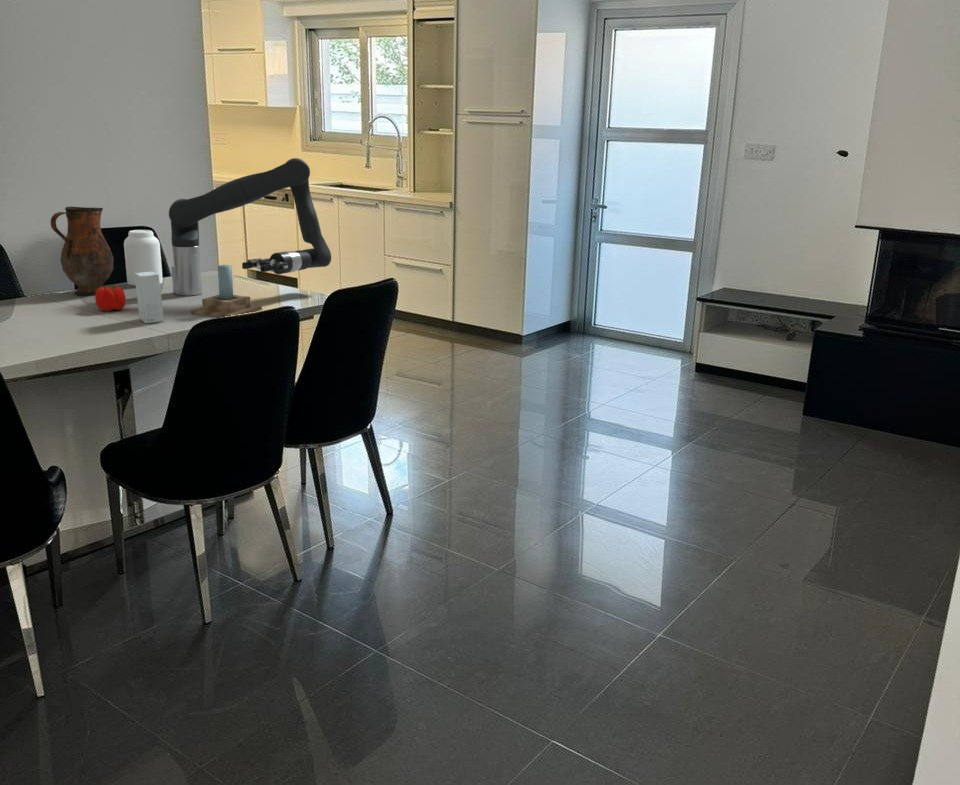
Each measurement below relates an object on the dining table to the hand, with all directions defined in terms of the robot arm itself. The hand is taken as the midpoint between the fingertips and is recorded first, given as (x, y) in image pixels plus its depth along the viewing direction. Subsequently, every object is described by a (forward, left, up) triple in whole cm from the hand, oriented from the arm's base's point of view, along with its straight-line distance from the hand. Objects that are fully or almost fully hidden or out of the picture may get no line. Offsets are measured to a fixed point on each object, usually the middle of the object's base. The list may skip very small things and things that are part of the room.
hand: (251, 267), depth 289 cm
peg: (-2, -12, -12) cm, 17 cm away
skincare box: (-14, -34, -13) cm, 39 cm away
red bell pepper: (-35, -28, -13) cm, 47 cm away
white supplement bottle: (-58, +13, -13) cm, 61 cm away
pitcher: (-61, -13, -13) cm, 64 cm away
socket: (-2, -12, -13) cm, 18 cm away
